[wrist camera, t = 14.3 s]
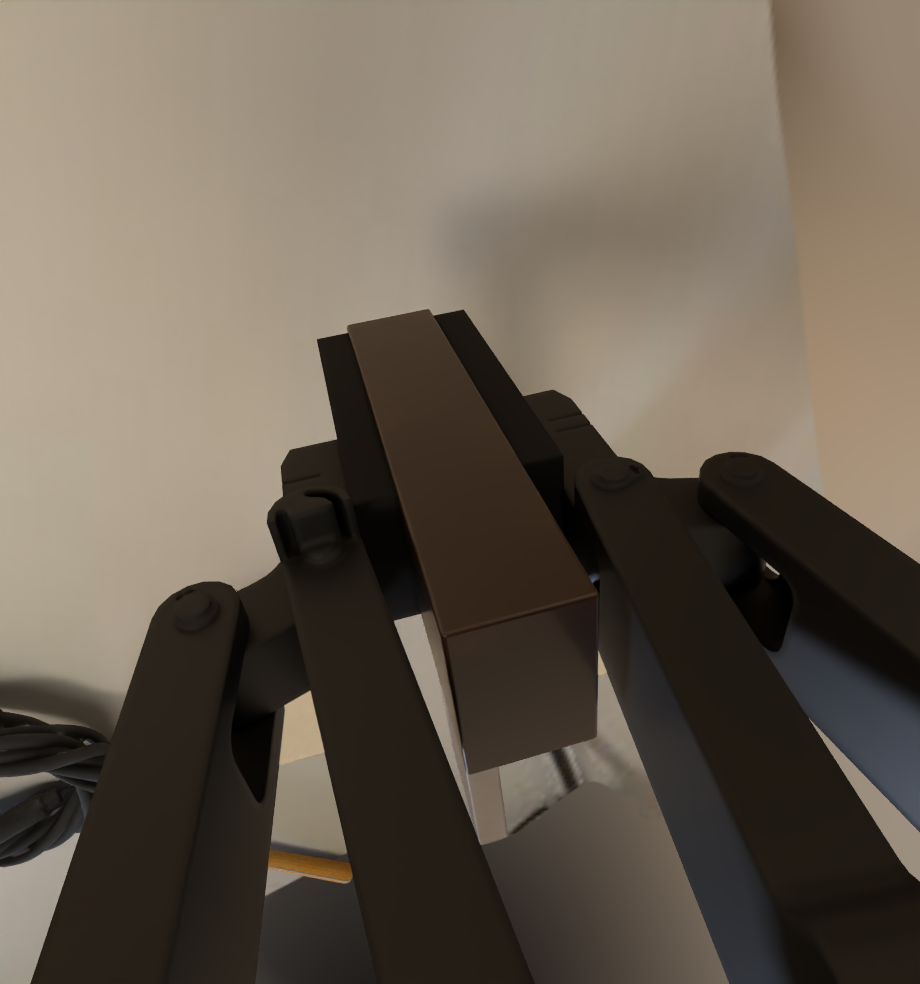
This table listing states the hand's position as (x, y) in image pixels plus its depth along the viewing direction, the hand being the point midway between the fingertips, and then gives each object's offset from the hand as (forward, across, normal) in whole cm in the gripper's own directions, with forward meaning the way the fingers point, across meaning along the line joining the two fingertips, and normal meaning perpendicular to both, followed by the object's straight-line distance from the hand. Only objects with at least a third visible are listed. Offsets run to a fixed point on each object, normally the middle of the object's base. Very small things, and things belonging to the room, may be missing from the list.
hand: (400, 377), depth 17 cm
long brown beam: (0, 0, -7) cm, 7 cm away
